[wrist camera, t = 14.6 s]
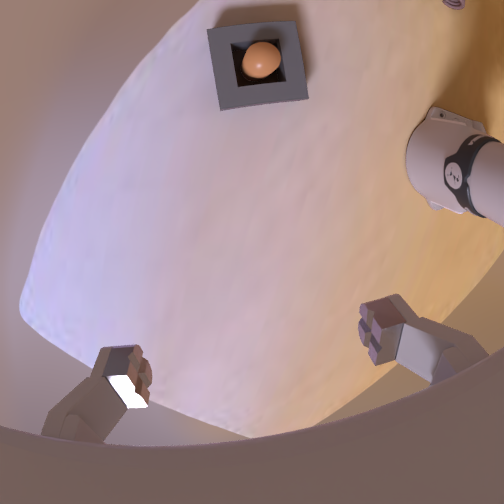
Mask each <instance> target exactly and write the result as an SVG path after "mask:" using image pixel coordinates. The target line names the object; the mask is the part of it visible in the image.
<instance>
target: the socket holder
mask: <svg viewBox="0 0 504 504" xmlns="http://www.w3.org/2000/svg"><path fill="white" fill-rule="evenodd" d="M207 34H208V41H209V47H210V53H211V59H212V65H213V71H214V76H215V82H216V88H217V94H218V100H219V106H220V111H223V110H229V109H235V108H241V107H248V106H255V105H262V104H271V103H279V102H289V101H299V100H305V99H309V97H308V90H307V84H306V77H305V71H304V65H303V59H302V53H301V48H300V42H299V37H298V32H297V27H296V22H295V21H278V22H262V23H251V24H241V25H233V26H225V27H219V28H212V29H207ZM258 42H266V43H270V44H272V45H274V46H275V47H276V48H277V49H278V51H279V53H280V56H281V61H280V64H279V66H278V68H277V69H276V72H277V78H278V82H276V83H266V84H257V85H250V86H242V87H238V85H237V80H236V74H235V68H234V62H233V56H232V51H239V50H247V49H248V48H249V47H250V46H251V45H253V44H255V43H258Z"/></svg>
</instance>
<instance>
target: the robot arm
mask: <svg viewBox="0 0 504 504" xmlns="http://www.w3.org/2000/svg"><path fill="white" fill-rule="evenodd" d="M440 114H441V117H440ZM406 167H407V173H408V176H409V179H410V181H411V183H412V185H413V187H414V188H415V189H416V190H417V191H418V192H419V193H420V194H421V195H423V196H424V197H425V198H426V199H427V202H428V204H429V205H430V207H431V208H432V209H434V210H440V209H442V208H447V209H449V210H451V211H454V212H456V213H458V214H462V213H463V212H466V211H468V212H470V213H472V214H474V215H476V216H479V217H482V218H488V219H490V220H492V221H494V222H495V223H497V224H499V225H500V226H502V227H504V144H503V143H501V142H500V141H499V140H497V139H495V138H494V137H492V136H490V135H488V134H487V133H486V130H485V128H484V126H483V123H481V122H478V121H473V120H470V119H467V118H465V117H462V116H460V115H457V114H455V113H452V112H449V111H447V110H444V109H441V108H438V107H431V108H430V110H429V112H428V114H427V117H426V119H425V120H424V121H423V122H422V123H421V124H420V125H419V126H418V127H417V128H416V129H415V131H414V132H413V134H412V136H411V138H410V140H409V143H408V147H407V152H406ZM359 313H360V315H361V316H362V318H361V319H360V321H359V324H358V331H359V336H360V339H361V342H362V343H363V345H364V346H366V347H368V348H369V352H368V354H369V356H370V358H371V360H372V361H373V363H374V365H375V366H377V365H380V364H384V363H387V362H390V361H393V360H395V361H396V362H398V363H400V364H401V365H403V366H405V367H406V368H408V369H409V370H411V371H413V372H414V373H416V374H418V375H419V376H421V377H422V378H424V379H426V380H427V381H429V382H430V386H429V387H428V388H426V389H423V390H421V391H419V392H416V393H414V394H411V395H409V396H407V397H404V398H401V399H399V400H397V401H394V402H391V403H389V404H386V405H383V406H380V407H377V408H374V409H372V410H369V411H366V412H363V413H360V414H357V415H354V416H350V417H347V418H343V419H340V420H336V421H333V422H329V423H325V424H321V425H318V426H313V427H309V428H305V429H301V430H296V431H291V432H286V433H281V434H276V435H271V436H265V437H259V438H252V439H245V440H238V441H229V442H220V443H209V444H197V445H177V446H130V445H112V444H111V445H110V444H106V443H105V442H104V440H105V438H106V437H107V436H108V435H109V433H110V432H111V431H112V429H113V428H114V427H115V425H116V424H117V423H118V421H119V420H120V419H121V417H122V416H123V415H124V413H125V412H126V411H127V409H128V408H132V407H133V408H134V407H147V406H148V401H149V395H150V392H149V391H148V389H147V388H148V387H149V386H150V385H151V383H152V370H151V367H150V364H149V362H148V360H146V359H145V358H143V357H142V355H143V351H142V349H141V347H140V346H139V345H123V346H112V347H103V348H101V349H100V352H99V354H98V357H97V360H96V362H95V365H94V368H93V370H92V373H91V376H90V377H87V378H86V379H84V381H82V382H81V383H80V384H79V385H78V386H77V387H75V388H74V389H73V390H72V391H71V392H70V393H69V394H68V395H67V396H65V397H64V398H63V399H62V400H61V401H60V402H59V403H58V404H57V405H56V406H55V407H53V408H52V409H51V410H50V411H49V412H48V415H47V418H46V421H45V423H44V426H43V429H42V432H41V435H36V434H32V433H27V432H23V431H18V430H14V429H10V428H7V427H3V426H0V504H504V347H503V348H501V349H499V350H498V351H496V352H495V353H493V354H491V355H490V356H489V354H488V353H487V352H486V351H485V350H484V348H483V347H482V346H481V345H480V344H479V343H478V342H477V340H476V339H475V338H474V337H473V336H471V335H469V334H466V333H464V332H461V331H458V330H456V329H453V328H450V327H448V326H445V325H442V324H440V323H437V322H435V321H432V320H429V319H427V318H424V317H421V318H419V317H418V316H417V315H416V313H415V312H414V311H413V310H412V309H411V308H410V306H409V305H408V304H407V303H406V302H405V301H404V300H403V298H402V297H401V296H400V295H399V294H393V295H390V296H387V297H385V298H381V299H377V300H373V301H370V302H366V303H362V304H361V306H360V311H359Z"/></svg>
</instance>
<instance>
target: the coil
mask: <svg viewBox="0 0 504 504" xmlns="http://www.w3.org/2000/svg"><path fill="white" fill-rule="evenodd" d="M443 3H444V4H445V5H446V6H448V7H450V8H452V9H457V10H460V9H463V8H464V7H465V0H444V1H443Z"/></svg>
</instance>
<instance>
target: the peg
mask: <svg viewBox="0 0 504 504" xmlns="http://www.w3.org/2000/svg"><path fill="white" fill-rule="evenodd" d="M280 61H281V56H280V53H279V51H278V49H277V48H276V47H275V46H274V45H272V44H270V43H266V42H258V43H255V44H253V45H251V46H250V47H249V48H248V49H247V51H246V53H245V56H244V58H243V61H242V63H241V66H240V70H241V74H242V75H243V77H244V78H246V79H247V80H249V81H253V82H257V81H261V80H263V79H265V78H266V77H267V76H268V75H269V74H271V73H272V72H273V71H274V70H276V69H277V68H278V66H279V64H280Z"/></svg>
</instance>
